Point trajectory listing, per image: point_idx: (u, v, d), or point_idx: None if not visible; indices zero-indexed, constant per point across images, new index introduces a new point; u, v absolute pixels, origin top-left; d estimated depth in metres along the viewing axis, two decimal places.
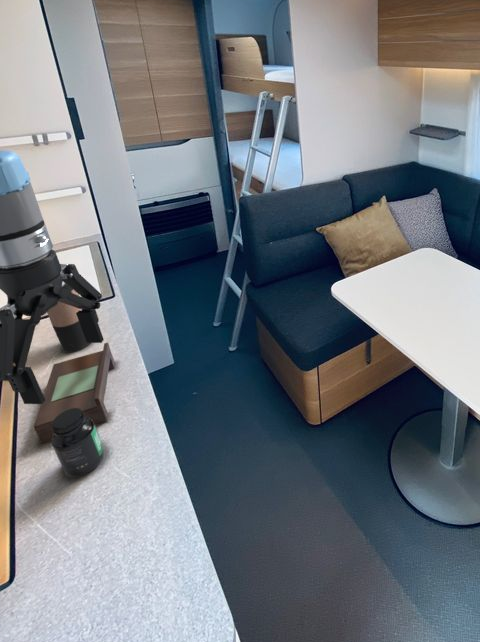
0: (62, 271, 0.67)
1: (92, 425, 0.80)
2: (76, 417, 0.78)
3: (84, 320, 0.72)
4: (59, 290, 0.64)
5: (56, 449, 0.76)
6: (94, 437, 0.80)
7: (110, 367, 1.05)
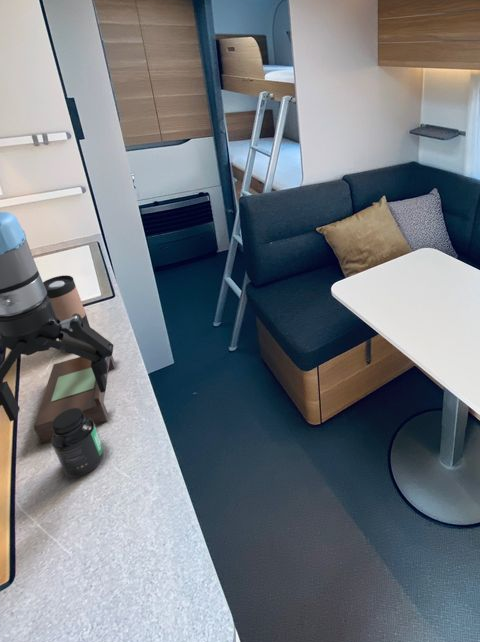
0: (65, 323, 0.71)
1: (92, 425, 0.80)
2: (76, 417, 0.78)
3: None
4: (43, 341, 0.69)
5: (56, 449, 0.76)
6: (94, 437, 0.80)
7: (110, 367, 1.05)
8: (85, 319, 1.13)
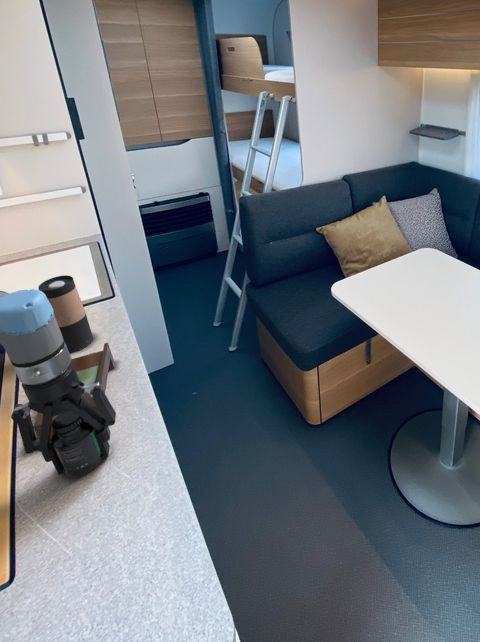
0: (89, 388, 0.77)
1: None
2: (76, 417, 0.78)
3: None
4: (67, 405, 0.75)
5: (56, 449, 0.76)
6: (94, 437, 0.80)
7: (110, 367, 1.05)
8: (85, 319, 1.13)
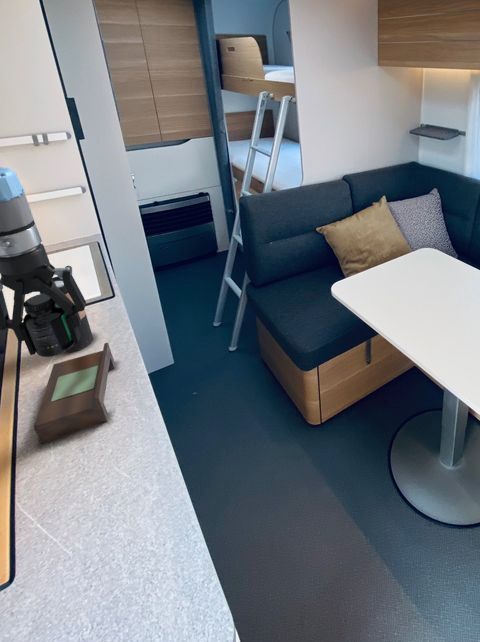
0: (59, 271, 0.82)
1: (63, 310, 0.85)
2: (47, 299, 0.82)
3: None
4: (37, 283, 0.80)
5: (27, 327, 0.81)
6: (64, 321, 0.85)
7: (110, 367, 1.05)
8: (85, 319, 1.13)
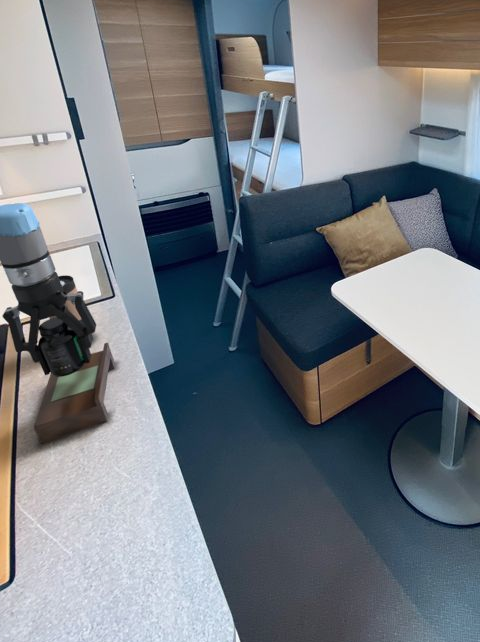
0: (71, 296, 0.88)
1: None
2: (60, 322, 0.88)
3: None
4: (52, 309, 0.85)
5: (42, 349, 0.87)
6: (76, 342, 0.91)
7: (110, 367, 1.05)
8: None
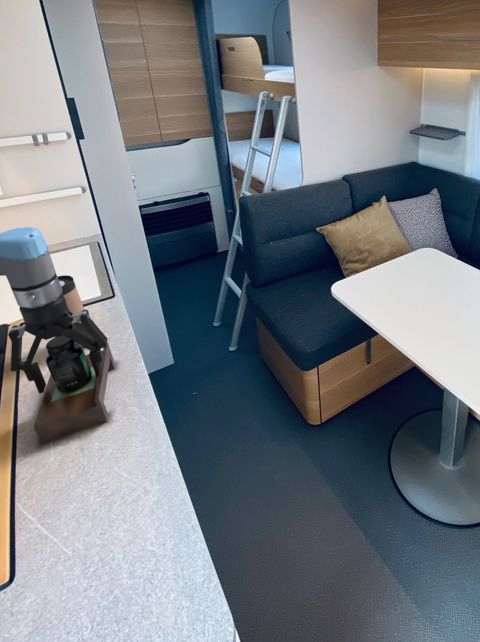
0: (77, 316, 0.90)
1: (81, 349, 0.92)
2: (67, 340, 0.90)
3: None
4: (58, 329, 0.87)
5: (50, 367, 0.89)
6: (82, 359, 0.92)
7: (110, 367, 1.05)
8: None
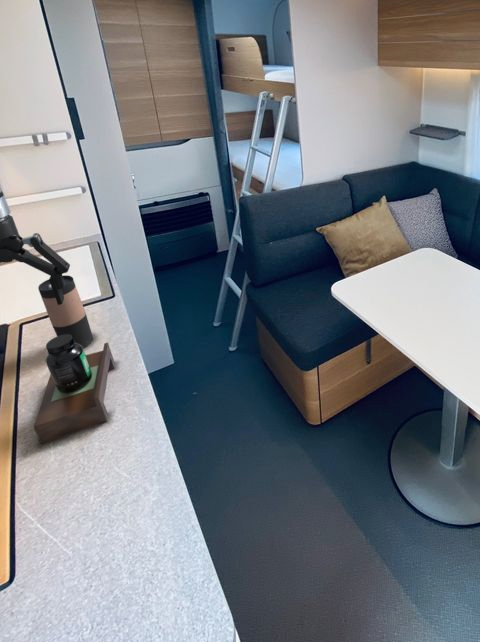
0: (26, 240, 0.84)
1: (81, 349, 0.92)
2: (67, 340, 0.90)
3: None
4: (7, 253, 0.82)
5: (50, 367, 0.89)
6: (82, 359, 0.92)
7: (110, 367, 1.05)
8: (85, 319, 1.13)
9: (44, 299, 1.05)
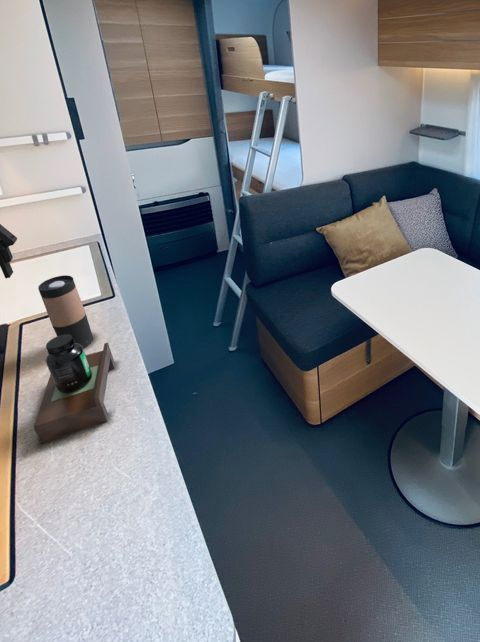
0: None
1: (81, 349, 0.92)
2: (67, 340, 0.90)
3: None
4: None
5: (50, 367, 0.89)
6: (82, 359, 0.92)
7: (110, 367, 1.05)
8: (85, 319, 1.13)
9: (44, 299, 1.05)
